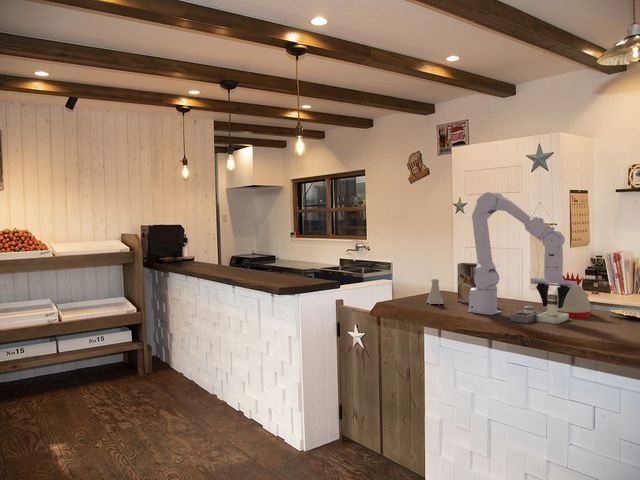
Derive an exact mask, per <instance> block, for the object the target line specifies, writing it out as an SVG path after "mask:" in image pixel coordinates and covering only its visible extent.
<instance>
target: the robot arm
mask: <svg viewBox="0 0 640 480" xmlns="http://www.w3.org/2000/svg"><path fill="white" fill-rule="evenodd" d="M497 211H502V212H506V213H508V214H509V215H511V216H512V217H514V218H515V219H516V220H517V221H519V222H521V223H522V224H523V225H524V229H525V230H526V232H528V233H529V234H531V235H532V236H533V237H534V238H535V239H537V240H538V241H540V242H541V243H542V246H543V247H544V253H543V254H544V255H543V256H544V257H543V258H544V261H543V262H544V263H543V266H544V267H543V278H538V277H532V278H530V285H531V284H532V285H536V286H535V287H536V290H537V292H538V293H539V296H540V299H541V302H542V306H543V307H547V295H548V294H549V288H550V286H553V287H554V286H556V288H557V291H558V308H563V303H564V300H565V297H566V295H567V293H568V292H569V290H570V287H572V288H576V287H577V282H576V281H567V280H563V276H564V274H563V268H564V267H563V266H564V254H563V251H564V250H563V249H564V248H563V245H565V243H566V242H565V241H566V239H565V236H564V235H563V234H562V232H561V231H557V230H556V228H555V227H554V226H552V227H551V226H550V225H549V224H547V223H546V222H544V221H545V220H544V219H543V218H542V217H538V216H533V217H532V216H530V215H529V214H528V213H527V212H525V211H524V210H523V209H522V208H520V207H519V206H518V205H517V204H516V203H515V202H513V201H512V200H510V199H509V198H507V197H505V196H503V195H502V194H501V193H498V192H489V191H488V192H484V193H482V194H481V195H480V196H478V198H477V199H476V204H475V206H474V209H473V212H472V215H471V219H472V227H473V237H474V243H475V252H476V259H477V260H476V261H477V263H478V264H477V266H476V269H475V270H476V274H475V277H474V282H475V284H476V286H477V287H476V288H472V289H471V290H470V293H469V303H468V310H467V311H468V312H469V313H474V314H482V315H489V316H493V315H496V314H500V313H502V310H498V287H497V284H499V282H500V275H499V273H498V272H497V269H496V265H495V263H494V262H493V255H492V248H491V247H492V246H491V239H490V231H489V223H488V219H490V217H491V216H492V215H493V214H494V213H496V212H497ZM561 284H562V285H561ZM558 286H560V287H558Z"/></svg>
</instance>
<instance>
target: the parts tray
mask: <svg viewBox="0 0 640 480" xmlns="http://www.w3.org/2000/svg"><path fill="white" fill-rule="evenodd" d="M569 319H570V317H569V314H567V313H559V312H558V317H549V316H547V311H545V312H541V314H538V315H536V320H535V321H536V322H540V323H548V324H554V325H555V324H556V325H559V324H561V323H563V322H566V321H568V320H569Z"/></svg>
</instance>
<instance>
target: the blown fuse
mask: <svg viewBox="0 0 640 480" xmlns="http://www.w3.org/2000/svg"><path fill="white" fill-rule="evenodd" d="M557 299H558V295H554V294H553V293H552V294H551V293H550V294H549V293H548V295H547V306H546V307H547V308H546V312H547V316H549V317H558V307H557V304H558V301H557Z"/></svg>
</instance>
